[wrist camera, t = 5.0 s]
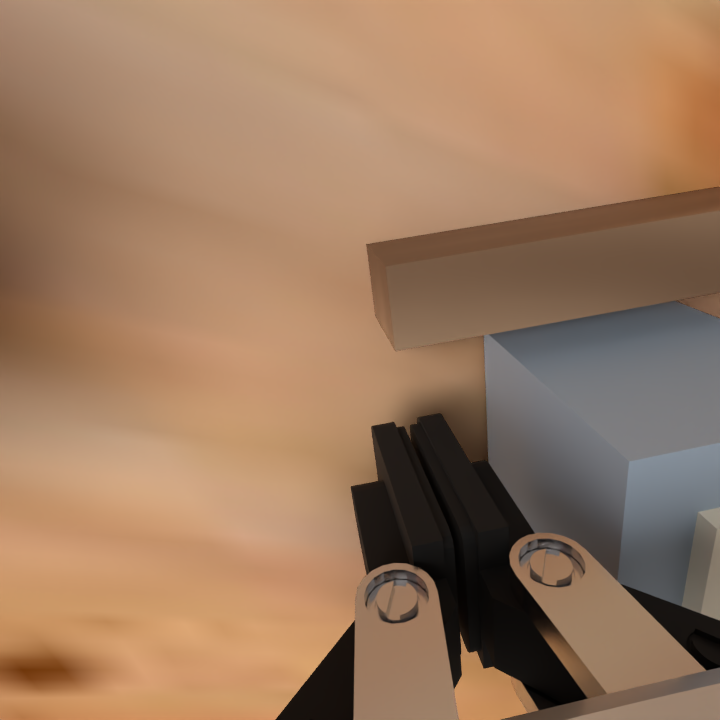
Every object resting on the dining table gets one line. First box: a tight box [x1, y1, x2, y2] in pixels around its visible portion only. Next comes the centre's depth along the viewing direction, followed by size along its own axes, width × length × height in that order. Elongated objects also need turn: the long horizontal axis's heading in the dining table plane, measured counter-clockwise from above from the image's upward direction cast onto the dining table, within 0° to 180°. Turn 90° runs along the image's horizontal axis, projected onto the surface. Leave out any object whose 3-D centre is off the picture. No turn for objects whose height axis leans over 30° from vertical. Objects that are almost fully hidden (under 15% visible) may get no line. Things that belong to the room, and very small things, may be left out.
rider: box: [484, 301, 720, 620], centre depth 11 cm, size 5×5×6 cm
